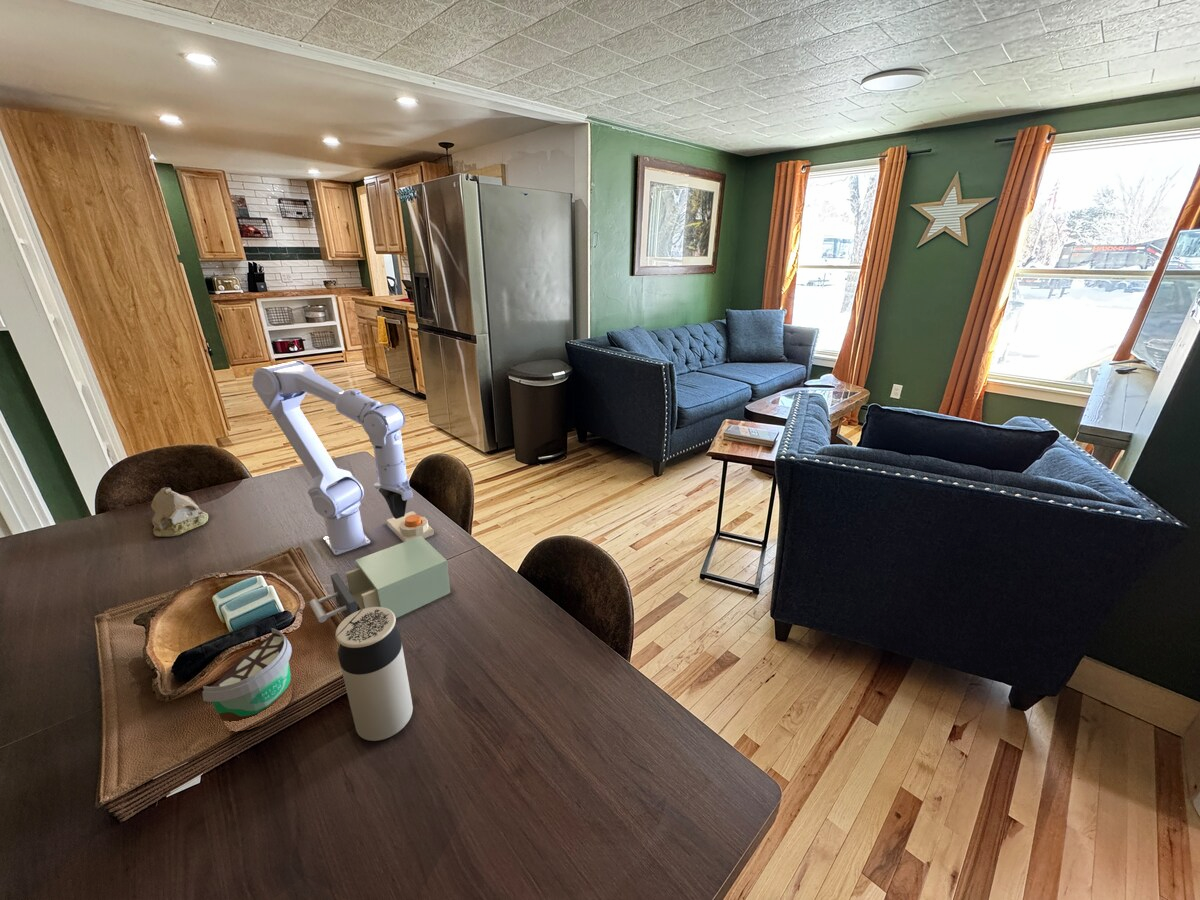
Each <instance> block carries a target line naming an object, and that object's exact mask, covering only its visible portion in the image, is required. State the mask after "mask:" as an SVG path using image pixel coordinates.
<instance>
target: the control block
mask: <svg viewBox="0 0 1200 900" xmlns="http://www.w3.org/2000/svg"><path fill="white" fill-rule="evenodd" d="M414 514H416V515H418V514H417V513H416V512H415V511H414V510H412V511H409V512H405V516H404V517H401V518H398V519H395V518H394V517H393V516H392V517H391V518H387V519H386V525H387V527H388V528H389V529H390V530H391V531H392V533H394V534H395V535H396V536H397V537H398V538H399V539H400V540H401V541H402V543H403V542H405V541H408V540H411V539H414V538H416V537H419V536H422V537H423V538H424V539H426V538H429V537H431V536H434V535H435V533H434V529H433V528H432V527H431V525H429V520H428V519H427V518H426V517H425V516H421V515H420V517H421V525H419V526H416V527H407V526H406V523H405V518H406V517H407V516H409V515H414Z"/></svg>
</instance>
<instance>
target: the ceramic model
mask: <svg viewBox="0 0 1200 900" xmlns="http://www.w3.org/2000/svg"><path fill="white" fill-rule="evenodd" d="M150 506H151V509H152V511H153V512H155V513H153V517H152V519H151V522H152V526H154V527H153V529H152V531H153V532H152V533H153V535H154V536H155V537H176V536H180V535H182V534H184V533H186V532H188V531H190V530H191V531H192V530H193V529H195V528H199V527H201V526H203V525H205V524H206V523H207V522H208V519H209V513H207V512H206V511H203V510H202V509H200V507H199V505H198V504H197V503H196V502H195V501H194V500H193V499H192V498H191V497H189V496H188V495H183V494H181V493H178V492H176V491H173V490H172V489H171V487H168V486H167V487H165V486H164V487H162V488H160V489H159V491H158V492H157V493H155V495H154V497H153V499H152V501H151V504H150Z"/></svg>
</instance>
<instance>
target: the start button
mask: <svg viewBox="0 0 1200 900" xmlns="http://www.w3.org/2000/svg"><path fill="white" fill-rule="evenodd" d="M416 514H417V513H416ZM416 514H414V515H409V516H407V517H406V518H405V523H406V526H407V527H416V526H419V525H421V517H422V516H421V515H419V514H417V515H416ZM420 516H421V517H420Z"/></svg>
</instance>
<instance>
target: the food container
mask: <svg viewBox="0 0 1200 900" xmlns="http://www.w3.org/2000/svg"><path fill="white" fill-rule="evenodd" d="M270 629H271V634H270V635H269V636H268V637H267V638H265V640H264V641H263V642H261V643H260V644H259V645H257V646H256V647H255V648H253V649H252V650H250V651H249V652H248V653H246V654H244V655H243V656H242V657H241V658H240V659H239V660H238V661H237V662H236V663H235V664H234V665H233V666H232V667H231V668H230V669H229V670H228V671H227V672H226V673H225V674H224V675H223V676H222V677H221V678H219V680H217V681H216V682H215V683H214V684H212V685H211V686H204V685H203V686H202V688H203V691H202V700H203V702H208V703H211V704H212V706H213V707H214V709H215V711H216V712H217V714H218V716H219V717H220V719H221V720H223V721H229V722H231V721H239V720H242V719H246V718H249V717H252V716H255V715H257V714H258V713H260V712H262V711H264V710H266V709H267V708H269V707H270V706H272V705H273V704H275V703H276V702H277V701H278V700H280V699H281V698H282V697H283V695H284V694H285V693H286V692H287V690H288V689H289V687H290V684H291V680H292V674H291V669H290V662H289V661H290V659H291V657H292V652H293V648H292V644H291V642H290V641H289V640H288V638H287V636H286V635H285V634H284V633H283V632H281V631H280V630H278V629H276V628H272V627H271V628H270ZM223 721H222V722H223Z"/></svg>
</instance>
